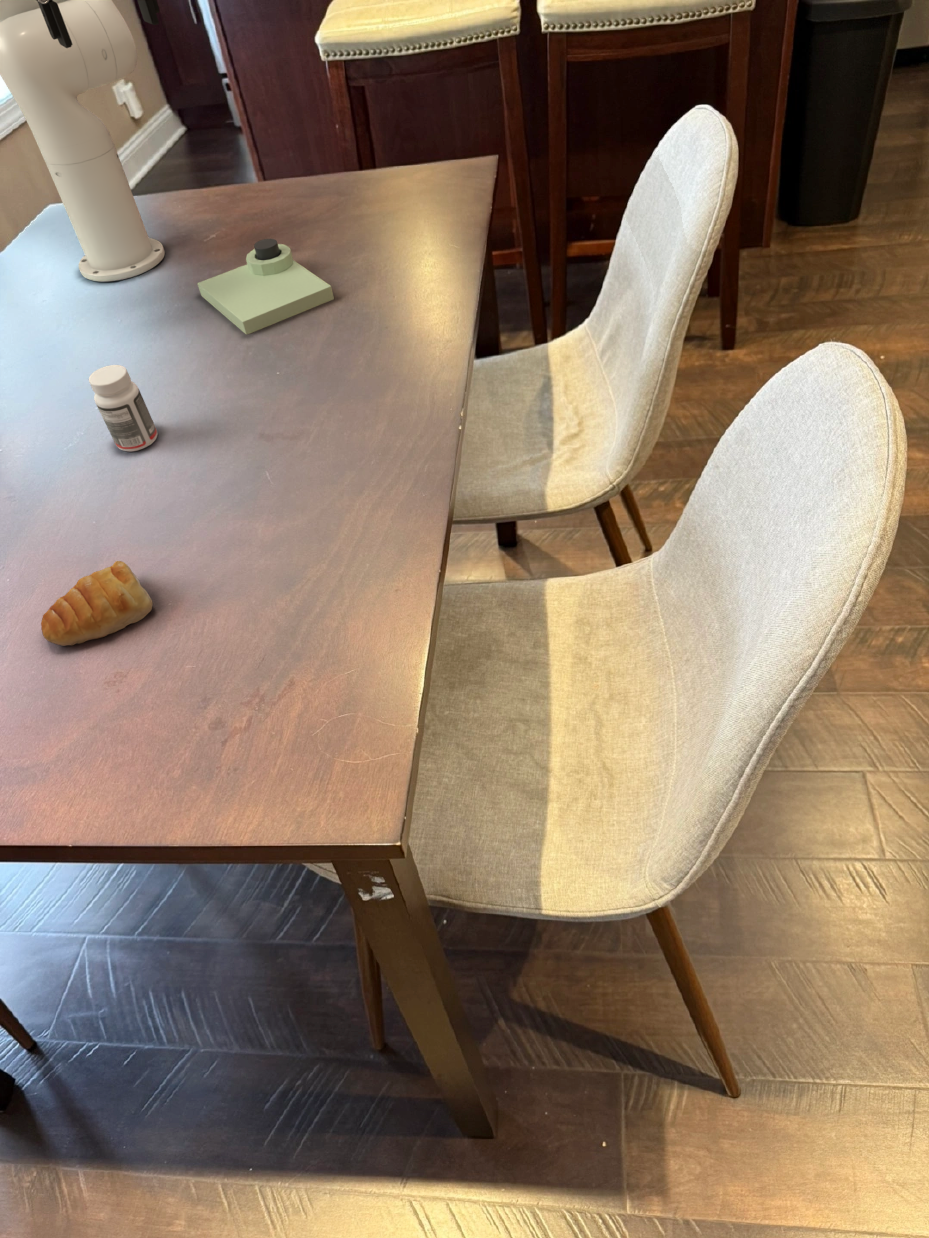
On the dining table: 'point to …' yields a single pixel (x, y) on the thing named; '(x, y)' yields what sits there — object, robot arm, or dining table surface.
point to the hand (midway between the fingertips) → (109, 34)
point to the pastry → (97, 606)
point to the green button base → (265, 291)
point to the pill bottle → (122, 408)
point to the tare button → (266, 249)
